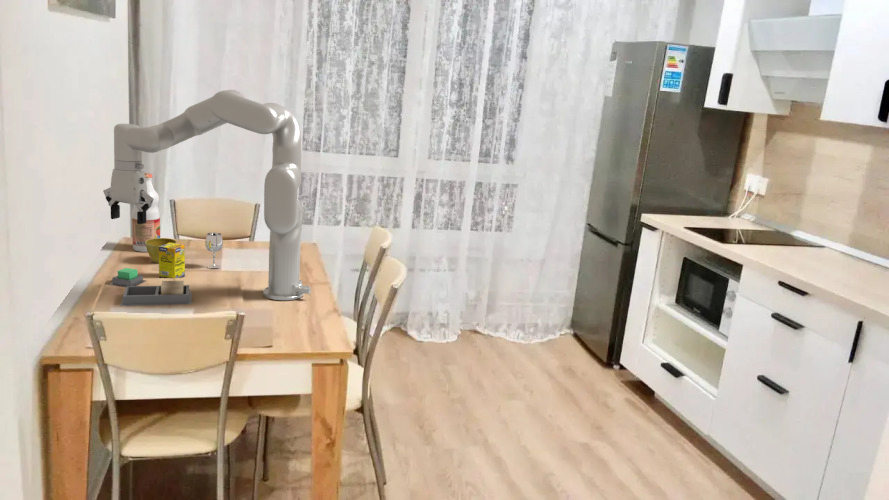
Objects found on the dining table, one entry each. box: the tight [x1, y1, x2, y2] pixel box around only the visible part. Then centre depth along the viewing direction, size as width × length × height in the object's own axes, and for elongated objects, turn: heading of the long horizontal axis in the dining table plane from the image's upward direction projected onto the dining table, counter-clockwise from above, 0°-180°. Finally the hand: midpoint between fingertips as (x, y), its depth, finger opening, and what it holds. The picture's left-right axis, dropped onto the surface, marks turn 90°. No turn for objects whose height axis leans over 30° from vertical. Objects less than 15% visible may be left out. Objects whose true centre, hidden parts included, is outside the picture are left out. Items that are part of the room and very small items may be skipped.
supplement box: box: [158, 243, 186, 279], centre depth 224 cm, size 6×6×11 cm
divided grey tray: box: [119, 284, 193, 307], centre depth 202 cm, size 19×11×4 cm, turn 109°
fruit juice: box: [131, 172, 161, 253], centre depth 250 cm, size 9×9×28 cm
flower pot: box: [145, 237, 177, 264], centre depth 240 cm, size 10×10×7 cm
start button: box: [117, 267, 138, 279], centre depth 213 cm, size 4×4×2 cm
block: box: [160, 280, 185, 295], centre depth 203 cm, size 6×6×4 cm
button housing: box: [107, 273, 147, 288], centre depth 214 cm, size 8×8×3 cm
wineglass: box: [204, 231, 224, 269], centre depth 238 cm, size 6×6×12 cm
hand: (128, 220), depth 211 cm, fingers open, 9 cm apart
